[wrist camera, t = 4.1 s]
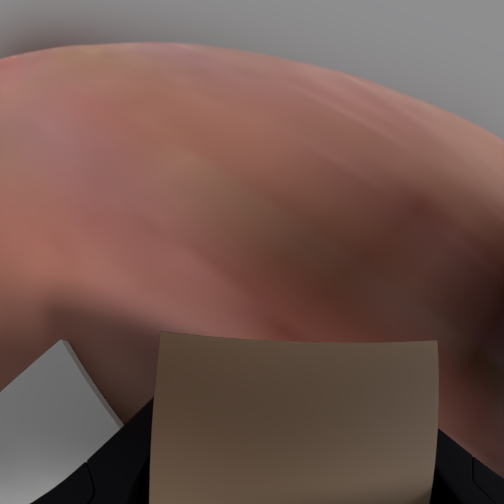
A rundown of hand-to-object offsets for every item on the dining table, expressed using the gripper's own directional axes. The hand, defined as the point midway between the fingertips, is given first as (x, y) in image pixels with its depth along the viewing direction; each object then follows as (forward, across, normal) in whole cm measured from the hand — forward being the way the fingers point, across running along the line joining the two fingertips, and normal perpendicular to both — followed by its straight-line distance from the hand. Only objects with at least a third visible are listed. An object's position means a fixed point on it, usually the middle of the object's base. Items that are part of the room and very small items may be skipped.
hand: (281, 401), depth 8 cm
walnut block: (+4, 0, +6) cm, 7 cm away
